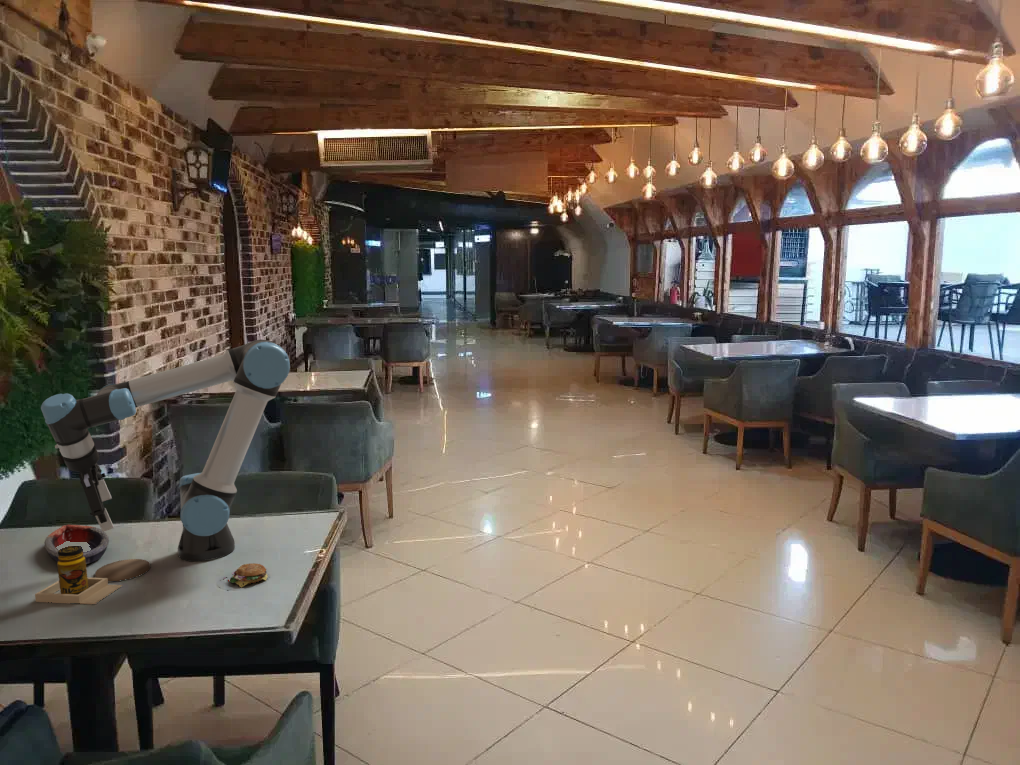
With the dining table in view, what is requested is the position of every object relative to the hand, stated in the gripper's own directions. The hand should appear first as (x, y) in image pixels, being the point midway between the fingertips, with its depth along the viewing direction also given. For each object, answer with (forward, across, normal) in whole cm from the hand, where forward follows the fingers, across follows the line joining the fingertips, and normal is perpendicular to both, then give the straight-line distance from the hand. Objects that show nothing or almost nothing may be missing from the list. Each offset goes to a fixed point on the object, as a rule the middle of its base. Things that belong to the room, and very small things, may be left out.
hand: (107, 514), depth 196 cm
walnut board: (+14, +8, -1) cm, 16 cm away
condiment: (+8, +17, -11) cm, 22 cm away
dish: (+19, -13, -13) cm, 27 cm away
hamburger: (+14, +29, +27) cm, 42 cm away
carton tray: (+8, +18, -9) cm, 22 cm away
